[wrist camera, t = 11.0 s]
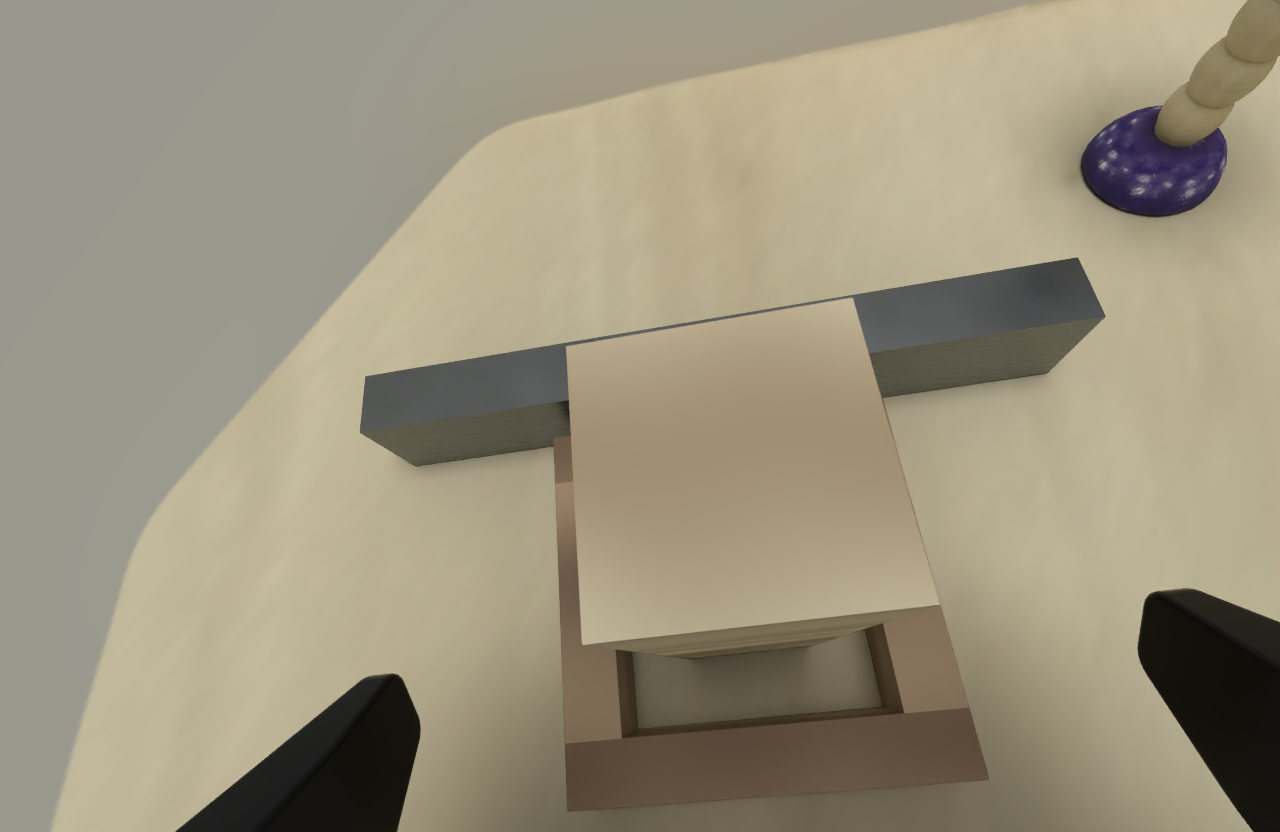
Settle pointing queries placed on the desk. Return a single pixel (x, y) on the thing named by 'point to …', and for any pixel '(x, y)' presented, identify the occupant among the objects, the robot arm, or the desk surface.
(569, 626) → the collar
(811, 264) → the desk surface
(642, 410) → the wooden square post
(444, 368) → the rail
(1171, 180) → the toy lamp
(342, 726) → the robot arm
